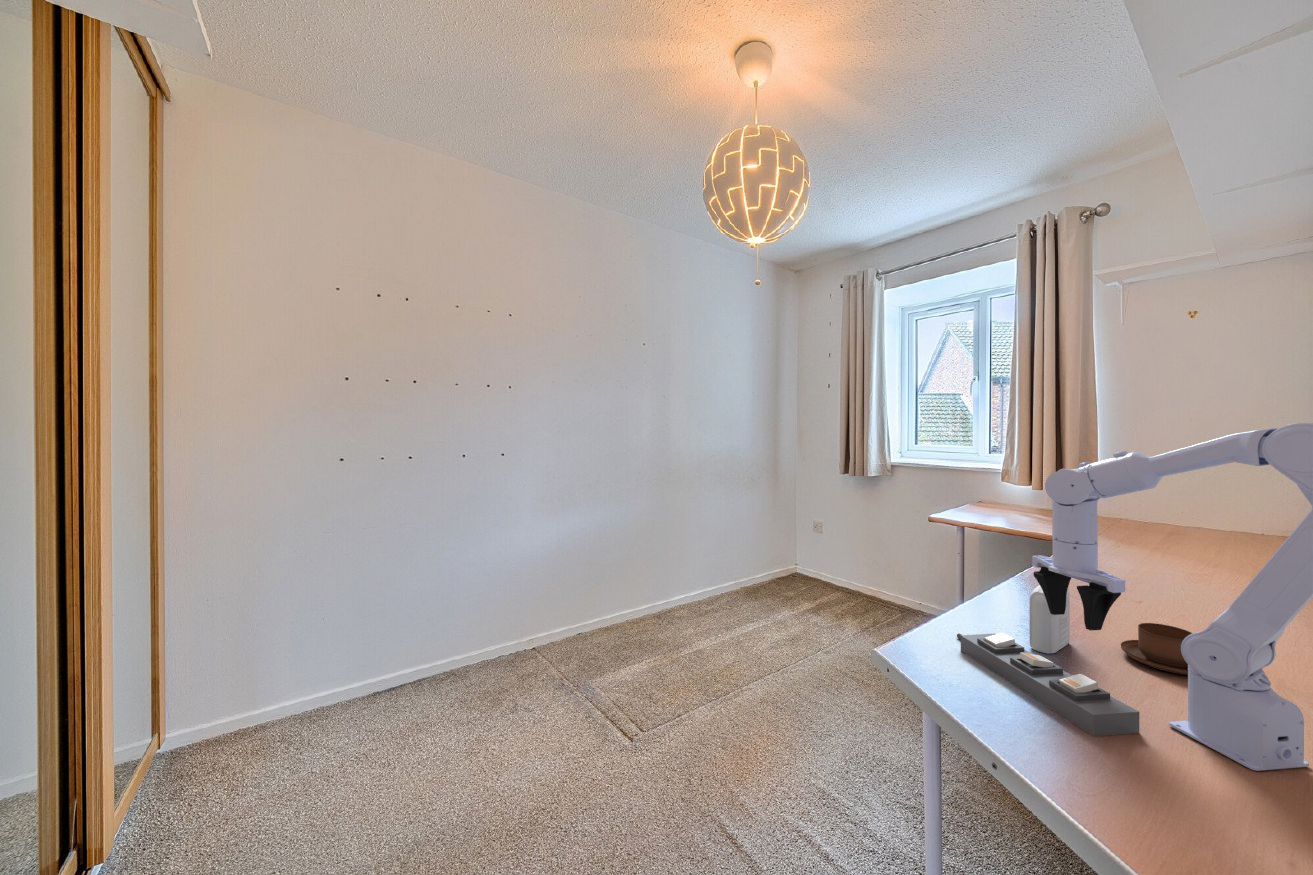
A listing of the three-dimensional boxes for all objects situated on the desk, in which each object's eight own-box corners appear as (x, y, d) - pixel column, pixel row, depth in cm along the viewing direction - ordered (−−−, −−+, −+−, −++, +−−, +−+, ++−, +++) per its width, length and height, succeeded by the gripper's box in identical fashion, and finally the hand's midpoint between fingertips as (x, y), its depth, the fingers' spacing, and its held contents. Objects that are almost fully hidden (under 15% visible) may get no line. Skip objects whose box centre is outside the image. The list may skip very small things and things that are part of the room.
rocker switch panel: (1139, 732, 68) (1139, 705, 68) (1093, 736, 67) (1093, 709, 67) (973, 636, 99) (973, 618, 99) (941, 638, 98) (941, 619, 98)
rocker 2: (1098, 688, 72) (1097, 681, 72) (1076, 695, 71) (1075, 688, 71) (1081, 679, 74) (1080, 673, 74) (1060, 685, 74) (1059, 679, 74)
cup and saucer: (1182, 653, 91) (1182, 621, 91) (1239, 686, 79) (1240, 649, 79) (1105, 646, 94) (1105, 615, 94) (1149, 677, 82) (1149, 642, 82)
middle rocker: (1052, 668, 79) (1053, 662, 79) (1032, 665, 79) (1033, 659, 79) (1038, 661, 82) (1039, 654, 82) (1019, 657, 81) (1020, 651, 81)
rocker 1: (1015, 643, 87) (1014, 638, 86) (997, 649, 86) (995, 643, 86) (1003, 637, 89) (1002, 632, 89) (985, 642, 89) (984, 637, 89)
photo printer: (1046, 635, 99) (1046, 575, 99) (1073, 642, 95) (1072, 580, 95) (1026, 648, 93) (1025, 585, 93) (1053, 657, 90) (1053, 591, 90)
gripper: (1016, 532, 87) (1016, 606, 88) (1095, 552, 73) (1095, 641, 73) (1052, 530, 88) (1052, 604, 88) (1138, 550, 73) (1138, 639, 74)
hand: (1074, 621), depth 81 cm, fingers open, 6 cm apart
